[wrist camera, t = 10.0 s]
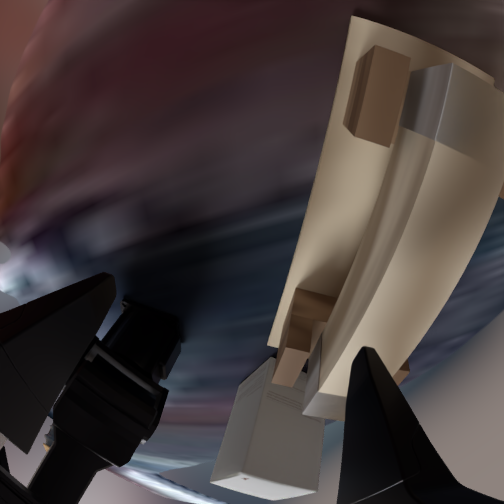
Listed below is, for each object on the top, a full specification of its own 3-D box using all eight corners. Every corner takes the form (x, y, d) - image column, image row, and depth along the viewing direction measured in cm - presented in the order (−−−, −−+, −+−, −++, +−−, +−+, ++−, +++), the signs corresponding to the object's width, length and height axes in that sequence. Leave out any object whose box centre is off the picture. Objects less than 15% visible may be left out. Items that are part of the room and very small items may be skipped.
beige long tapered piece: (269, 337, 26) (253, 400, 20) (350, 19, 13) (366, -21, 7) (369, 359, 25) (372, 421, 20) (487, 78, 12) (550, 82, 6)
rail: (308, 358, 21) (302, 414, 17) (411, 71, 11) (452, 62, 6) (352, 367, 21) (352, 422, 17) (470, 99, 10) (524, 108, 6)
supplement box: (237, 384, 31) (205, 482, 21) (271, 353, 28) (241, 473, 17) (290, 408, 32) (272, 502, 21) (330, 382, 28) (319, 493, 17)
